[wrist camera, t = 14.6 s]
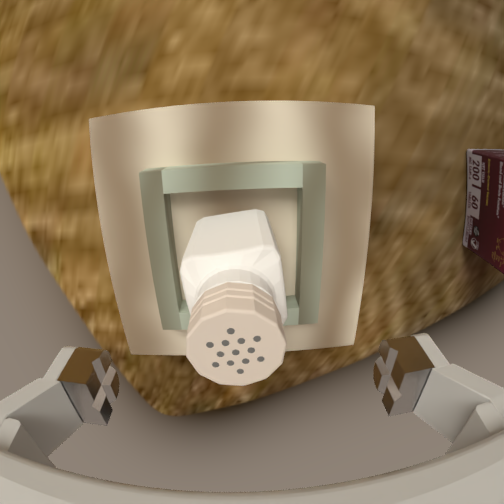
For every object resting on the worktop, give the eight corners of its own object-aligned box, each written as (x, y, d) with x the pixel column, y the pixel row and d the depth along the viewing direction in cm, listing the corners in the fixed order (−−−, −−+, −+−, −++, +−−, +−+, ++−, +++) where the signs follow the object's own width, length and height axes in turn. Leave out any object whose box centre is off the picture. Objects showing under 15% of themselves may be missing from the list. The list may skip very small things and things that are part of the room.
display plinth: (351, 108, 19) (385, 104, 14) (339, 315, 26) (359, 357, 20) (113, 118, 19) (77, 119, 14) (143, 323, 25) (126, 367, 20)
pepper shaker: (194, 216, 18) (155, 307, 9) (265, 204, 18) (294, 286, 9) (208, 279, 19) (190, 399, 11) (274, 269, 19) (303, 385, 10)
